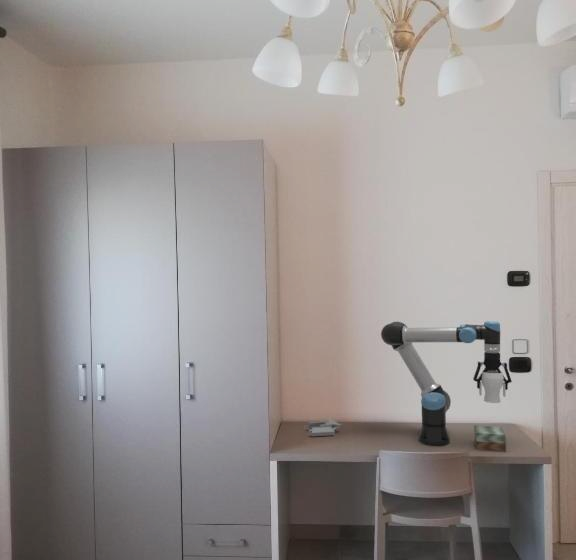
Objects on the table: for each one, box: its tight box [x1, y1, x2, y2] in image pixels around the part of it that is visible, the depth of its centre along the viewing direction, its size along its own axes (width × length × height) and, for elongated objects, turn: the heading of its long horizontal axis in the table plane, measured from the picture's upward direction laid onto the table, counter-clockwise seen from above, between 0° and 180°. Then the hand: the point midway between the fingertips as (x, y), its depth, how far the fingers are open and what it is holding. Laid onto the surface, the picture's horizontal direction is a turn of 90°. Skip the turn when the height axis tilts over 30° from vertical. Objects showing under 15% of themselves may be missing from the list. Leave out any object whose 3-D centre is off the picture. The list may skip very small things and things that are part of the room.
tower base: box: [473, 424, 507, 453], centre depth 246 cm, size 13×13×8 cm
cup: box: [480, 370, 505, 404], centre depth 256 cm, size 11×11×15 cm
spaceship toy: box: [303, 418, 342, 437], centre depth 274 cm, size 14×20×6 cm
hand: (492, 395), depth 256 cm, fingers closed on cup, 11 cm apart
